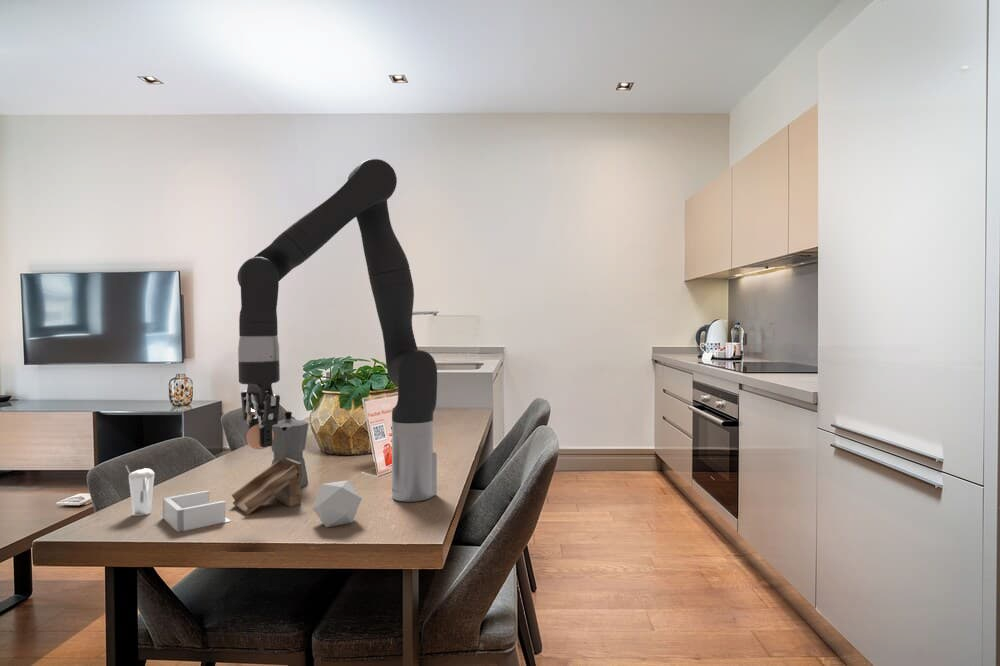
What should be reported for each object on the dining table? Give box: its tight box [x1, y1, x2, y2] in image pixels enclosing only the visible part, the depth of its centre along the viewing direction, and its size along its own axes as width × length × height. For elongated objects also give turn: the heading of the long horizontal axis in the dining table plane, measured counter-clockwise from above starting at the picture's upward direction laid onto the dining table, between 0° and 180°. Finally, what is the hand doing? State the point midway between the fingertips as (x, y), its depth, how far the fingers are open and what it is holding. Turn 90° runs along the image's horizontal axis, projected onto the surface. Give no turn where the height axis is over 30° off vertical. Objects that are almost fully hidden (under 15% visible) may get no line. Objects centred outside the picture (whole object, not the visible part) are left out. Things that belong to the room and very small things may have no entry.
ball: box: [246, 424, 274, 450], centre depth 114 cm, size 5×5×5 cm
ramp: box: [231, 457, 302, 516], centre depth 123 cm, size 12×8×9 cm
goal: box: [162, 490, 227, 533], centre depth 114 cm, size 8×11×4 cm
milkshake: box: [125, 465, 155, 517], centre depth 118 cm, size 4×5×10 cm
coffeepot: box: [270, 410, 309, 488], centre depth 141 cm, size 15×9×18 cm, turn 12°
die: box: [312, 480, 362, 528], centre depth 112 cm, size 8×9×10 cm
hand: (260, 444), depth 114 cm, fingers closed on ball, 5 cm apart
